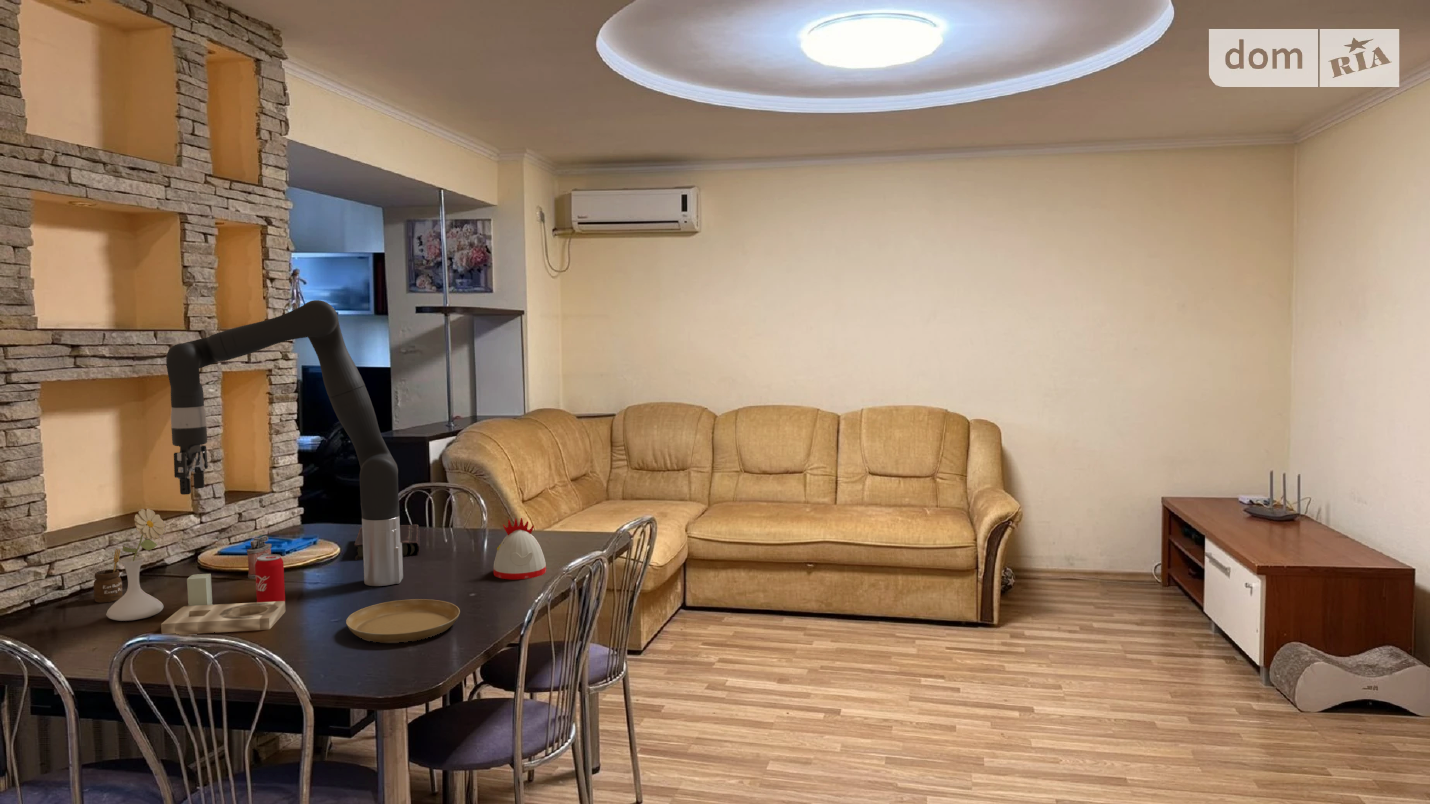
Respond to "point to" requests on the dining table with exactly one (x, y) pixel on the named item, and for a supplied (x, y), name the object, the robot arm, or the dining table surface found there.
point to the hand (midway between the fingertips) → (192, 491)
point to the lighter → (257, 553)
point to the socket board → (224, 618)
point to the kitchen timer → (519, 554)
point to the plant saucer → (403, 620)
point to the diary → (407, 538)
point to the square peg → (199, 590)
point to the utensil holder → (108, 583)
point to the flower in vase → (135, 599)
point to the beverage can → (270, 578)
